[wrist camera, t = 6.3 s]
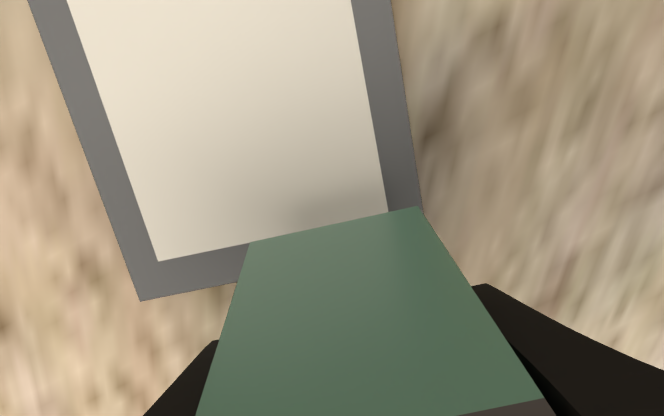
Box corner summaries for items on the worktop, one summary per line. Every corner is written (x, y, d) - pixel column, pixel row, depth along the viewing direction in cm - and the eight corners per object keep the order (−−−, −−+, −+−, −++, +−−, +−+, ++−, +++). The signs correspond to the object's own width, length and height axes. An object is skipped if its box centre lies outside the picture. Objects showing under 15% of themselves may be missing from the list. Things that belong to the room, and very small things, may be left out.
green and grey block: (417, 205, 11) (634, 532, 4) (441, 349, 13) (640, 814, 5) (250, 242, 11) (127, 631, 4) (290, 380, 13) (259, 879, 5)
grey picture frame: (361, -156, 15) (365, -172, 14) (422, 233, 19) (429, 245, 18) (15, -76, 15) (-9, -86, 14) (148, 289, 19) (138, 304, 18)
